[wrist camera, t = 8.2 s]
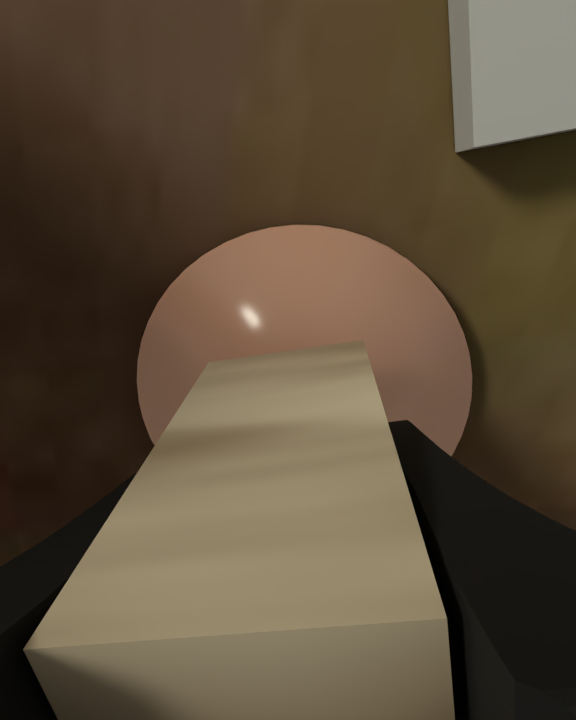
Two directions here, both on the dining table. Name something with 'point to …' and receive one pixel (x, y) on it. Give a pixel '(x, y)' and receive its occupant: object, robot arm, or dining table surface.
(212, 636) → the maple block
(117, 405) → the dining table surface
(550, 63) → the grey square frame
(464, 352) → the pink disc
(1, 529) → the dining table surface
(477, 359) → the dining table surface
